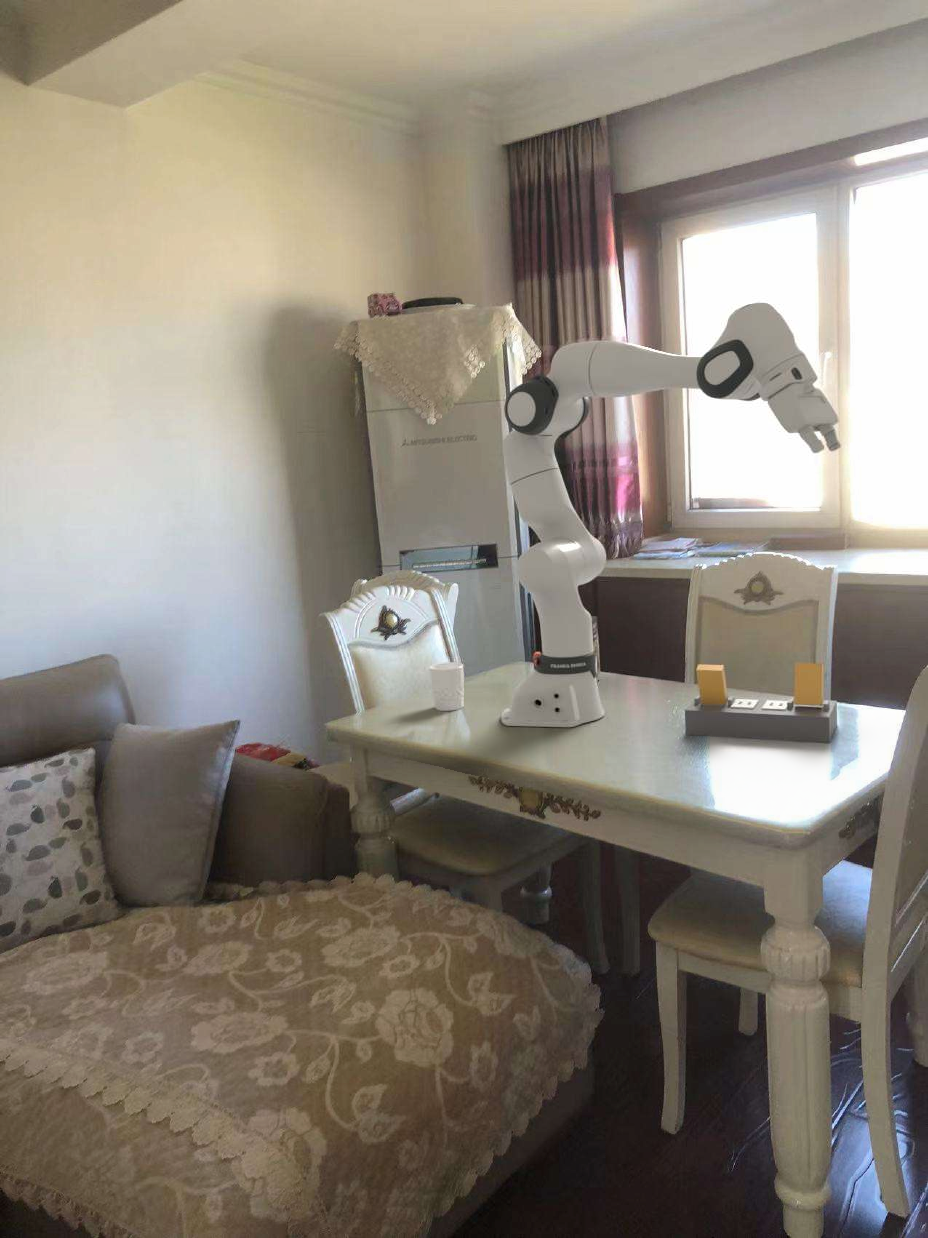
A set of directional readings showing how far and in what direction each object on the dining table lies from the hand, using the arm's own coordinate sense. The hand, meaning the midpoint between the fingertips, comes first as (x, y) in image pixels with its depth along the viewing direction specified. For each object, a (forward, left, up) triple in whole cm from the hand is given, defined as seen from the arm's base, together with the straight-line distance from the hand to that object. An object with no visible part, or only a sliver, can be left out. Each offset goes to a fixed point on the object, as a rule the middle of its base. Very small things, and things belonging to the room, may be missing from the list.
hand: (828, 450), depth 175 cm
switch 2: (-3, +9, -48) cm, 49 cm away
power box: (-11, +12, -54) cm, 56 cm away
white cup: (-78, +38, -54) cm, 102 cm away
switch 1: (-20, +14, -48) cm, 54 cm away
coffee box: (-47, +57, -54) cm, 91 cm away
